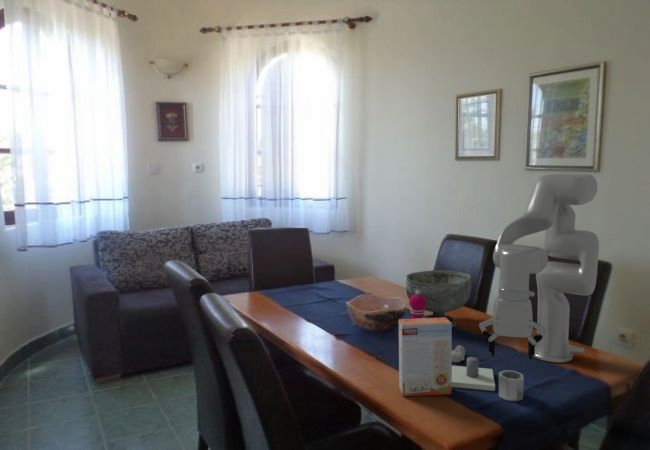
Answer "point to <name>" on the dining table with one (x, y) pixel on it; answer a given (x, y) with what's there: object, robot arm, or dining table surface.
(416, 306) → the pepper mill
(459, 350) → the pale two-lobed sculpture
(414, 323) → the cracker box
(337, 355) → the dining table surface
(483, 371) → the square plate with knob
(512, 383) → the sleeve
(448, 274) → the decorative bowl
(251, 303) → the dining table surface
